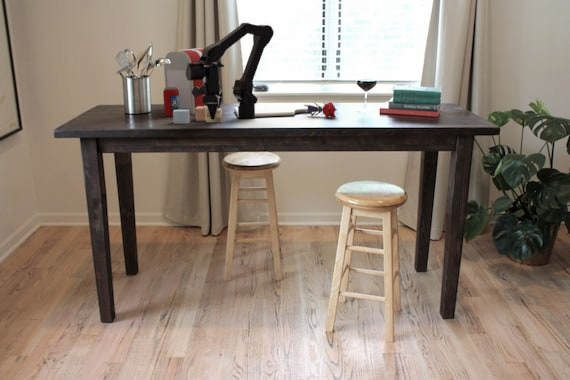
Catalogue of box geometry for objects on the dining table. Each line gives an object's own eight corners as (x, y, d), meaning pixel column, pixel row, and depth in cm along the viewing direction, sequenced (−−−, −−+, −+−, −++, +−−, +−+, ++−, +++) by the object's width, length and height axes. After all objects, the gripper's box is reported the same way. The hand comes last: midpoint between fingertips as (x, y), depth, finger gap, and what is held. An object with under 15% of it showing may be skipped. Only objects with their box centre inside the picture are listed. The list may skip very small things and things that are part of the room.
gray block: (190, 121, 252) (189, 109, 250) (188, 123, 248) (187, 111, 247) (175, 121, 252) (174, 109, 251) (173, 123, 248) (172, 111, 247)
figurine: (307, 112, 264) (341, 114, 259) (301, 120, 258) (335, 122, 252) (307, 98, 261) (340, 100, 256) (300, 105, 254) (334, 107, 249)
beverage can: (177, 117, 262) (175, 89, 258) (162, 116, 263) (160, 88, 260) (182, 114, 268) (181, 87, 265) (168, 114, 269) (166, 86, 266)
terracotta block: (198, 118, 260) (197, 106, 258) (207, 118, 259) (206, 106, 258) (195, 120, 254) (195, 108, 252) (205, 120, 254) (204, 108, 252)
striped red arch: (219, 108, 284) (216, 48, 276) (194, 113, 269) (190, 51, 262) (191, 105, 292) (188, 47, 284) (166, 111, 278) (161, 50, 270)
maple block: (222, 120, 253) (221, 108, 252) (221, 122, 250) (220, 110, 248) (207, 120, 254) (207, 108, 252) (206, 122, 250) (205, 110, 248)
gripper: (196, 76, 256) (198, 113, 260) (188, 81, 238) (190, 121, 242) (222, 76, 256) (224, 113, 260) (217, 81, 238) (218, 121, 242)
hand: (214, 117), depth 251 cm, fingers open, 9 cm apart
